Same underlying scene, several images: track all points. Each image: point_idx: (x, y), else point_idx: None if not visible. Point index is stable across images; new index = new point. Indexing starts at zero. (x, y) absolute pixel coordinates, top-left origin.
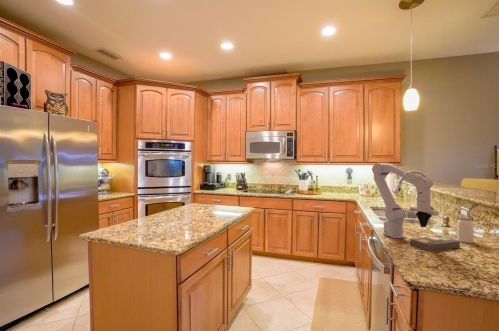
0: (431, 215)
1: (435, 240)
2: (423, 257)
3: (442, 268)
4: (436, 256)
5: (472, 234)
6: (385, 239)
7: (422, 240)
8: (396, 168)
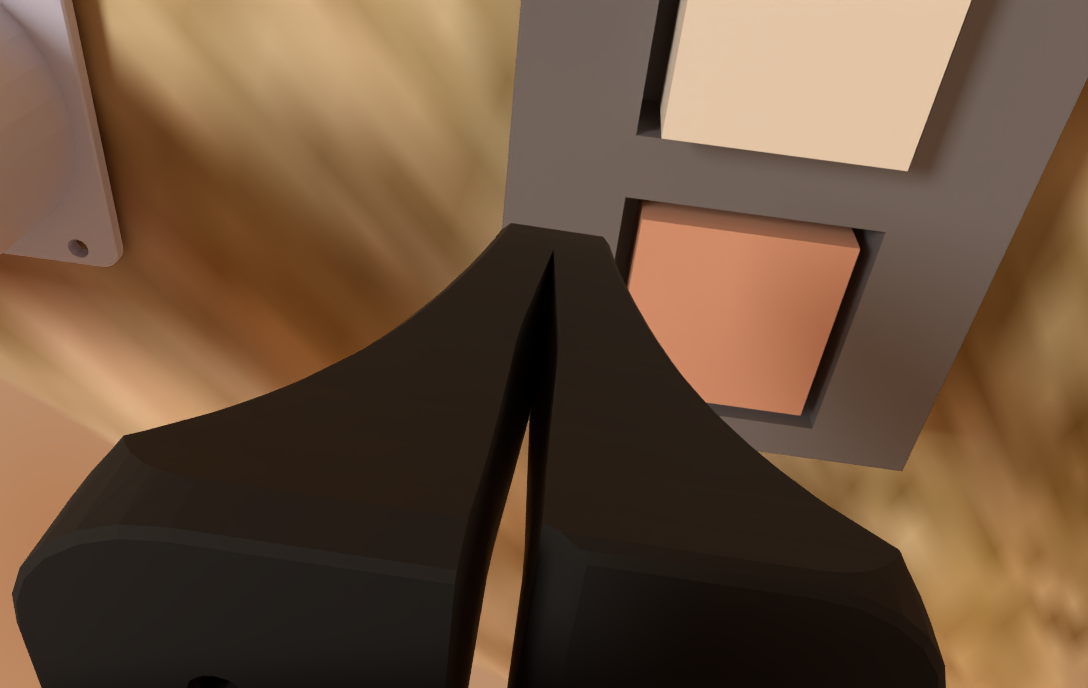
0: (907, 582)
1: (902, 157)
2: (943, 647)
3: None
4: (1053, 509)
5: None
6: (138, 426)
7: (682, 326)
8: None
